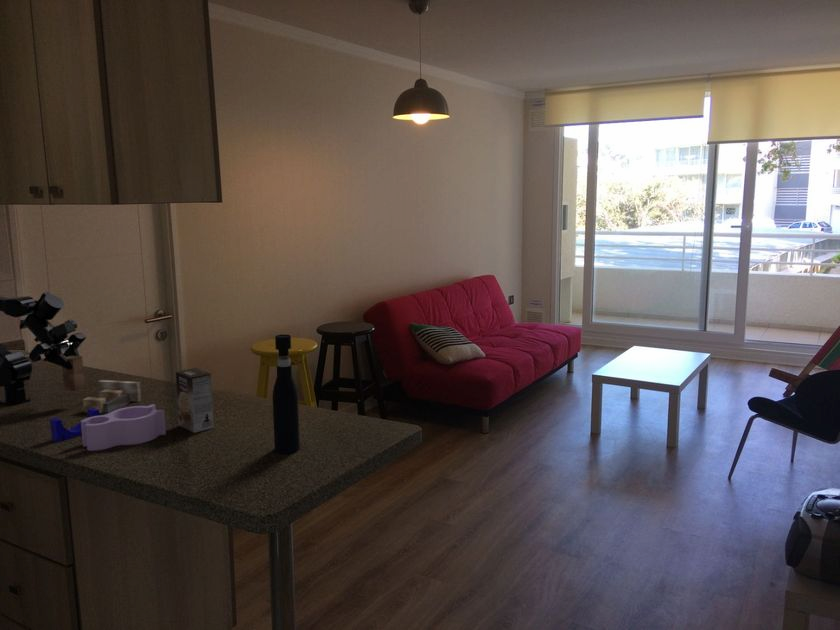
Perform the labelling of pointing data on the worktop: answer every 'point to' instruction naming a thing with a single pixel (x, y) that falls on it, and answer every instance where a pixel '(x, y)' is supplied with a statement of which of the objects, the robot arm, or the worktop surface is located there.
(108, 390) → the stepped pillar cluster
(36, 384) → the worktop surface
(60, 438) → the cable clip
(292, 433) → the dark blue water bottle
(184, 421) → the coffee box
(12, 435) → the worktop surface
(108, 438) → the purple double cup holder
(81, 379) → the plain brown block
